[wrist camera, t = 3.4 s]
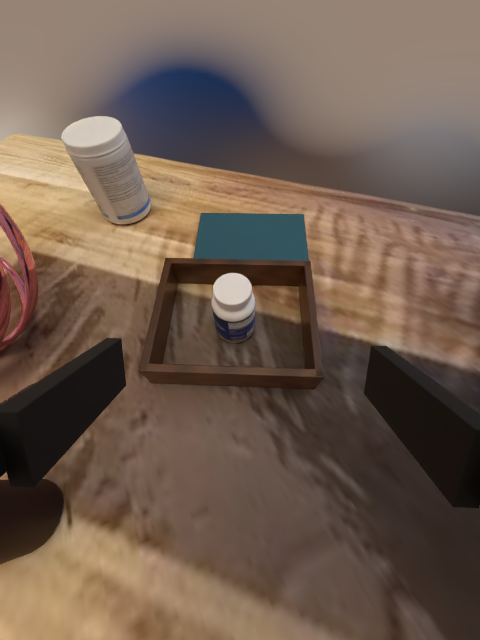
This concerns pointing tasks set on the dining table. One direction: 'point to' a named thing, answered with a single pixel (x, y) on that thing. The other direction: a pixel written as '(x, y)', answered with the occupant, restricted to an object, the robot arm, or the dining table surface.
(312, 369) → the wooden tray
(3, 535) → the vinegar
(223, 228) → the mat
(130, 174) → the supplement tub
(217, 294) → the pill bottle
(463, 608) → the dining table surface
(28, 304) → the spiral basket
